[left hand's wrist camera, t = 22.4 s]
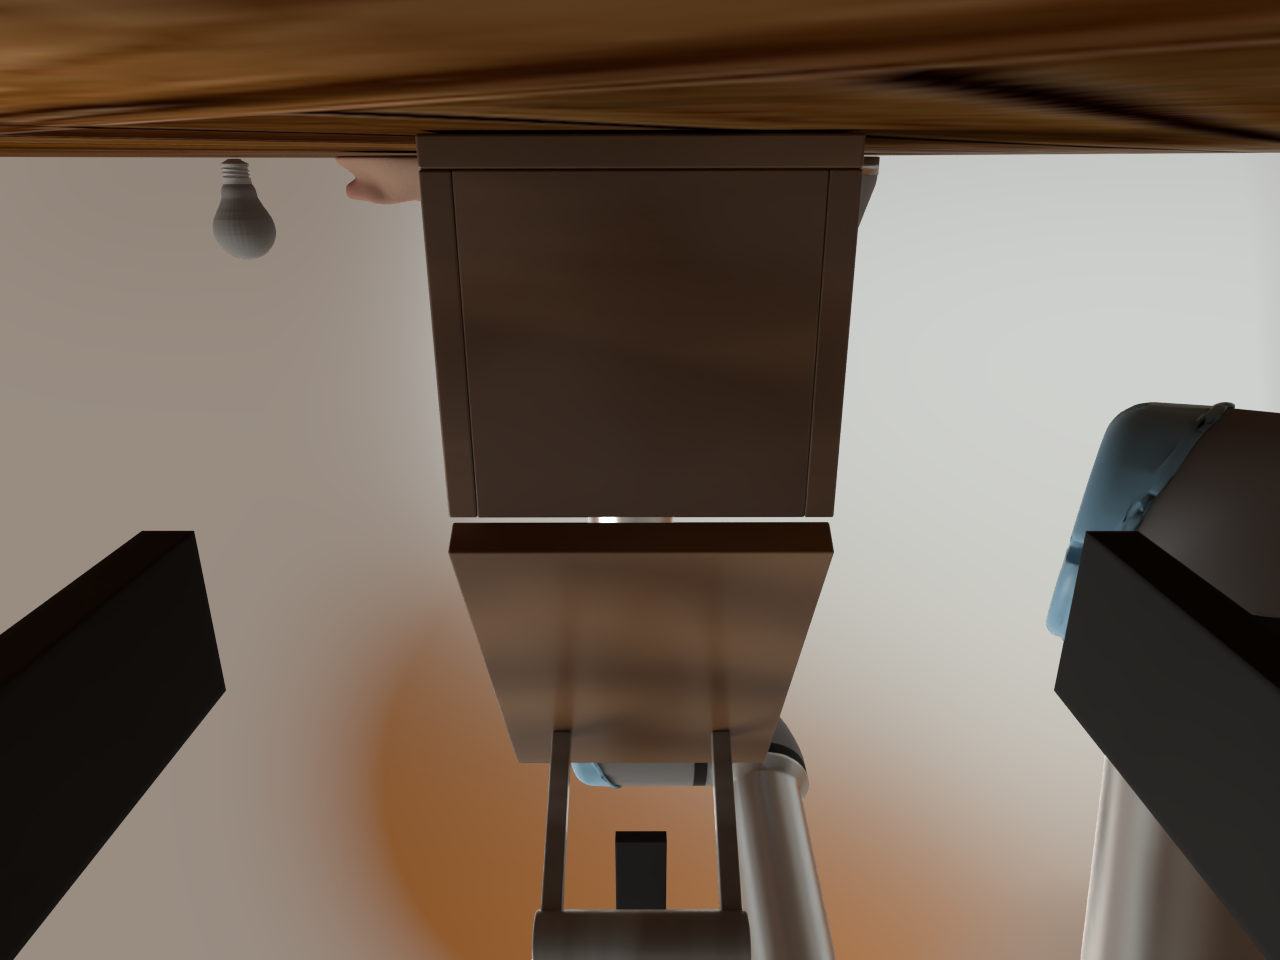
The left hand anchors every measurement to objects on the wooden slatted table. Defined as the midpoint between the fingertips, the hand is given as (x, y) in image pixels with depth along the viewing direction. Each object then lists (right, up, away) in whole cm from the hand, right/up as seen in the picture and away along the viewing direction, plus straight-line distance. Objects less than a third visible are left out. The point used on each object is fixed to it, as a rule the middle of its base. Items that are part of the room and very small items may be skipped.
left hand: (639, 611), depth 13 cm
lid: (0, -4, +16) cm, 17 cm away
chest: (0, +12, +13) cm, 18 cm away
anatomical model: (-14, +24, +44) cm, 52 cm away
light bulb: (-42, +35, +74) cm, 92 cm away
